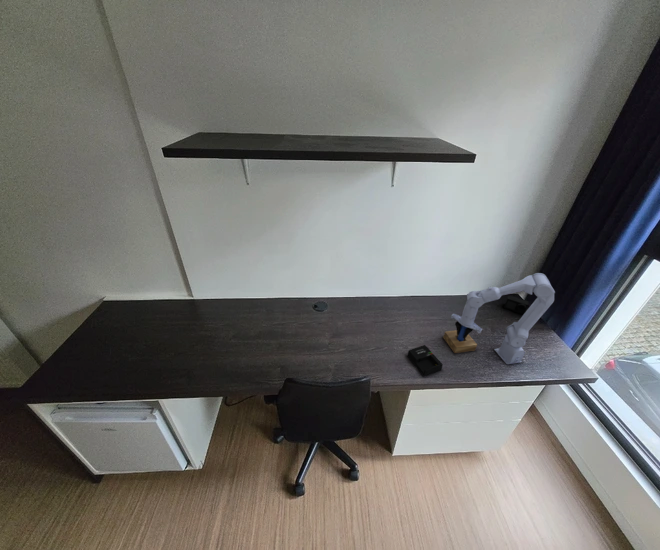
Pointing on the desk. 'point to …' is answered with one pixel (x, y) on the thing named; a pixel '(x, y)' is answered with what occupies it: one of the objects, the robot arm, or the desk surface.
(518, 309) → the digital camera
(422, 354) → the battery charger
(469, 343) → the holder
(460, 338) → the handle
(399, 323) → the desk surface
